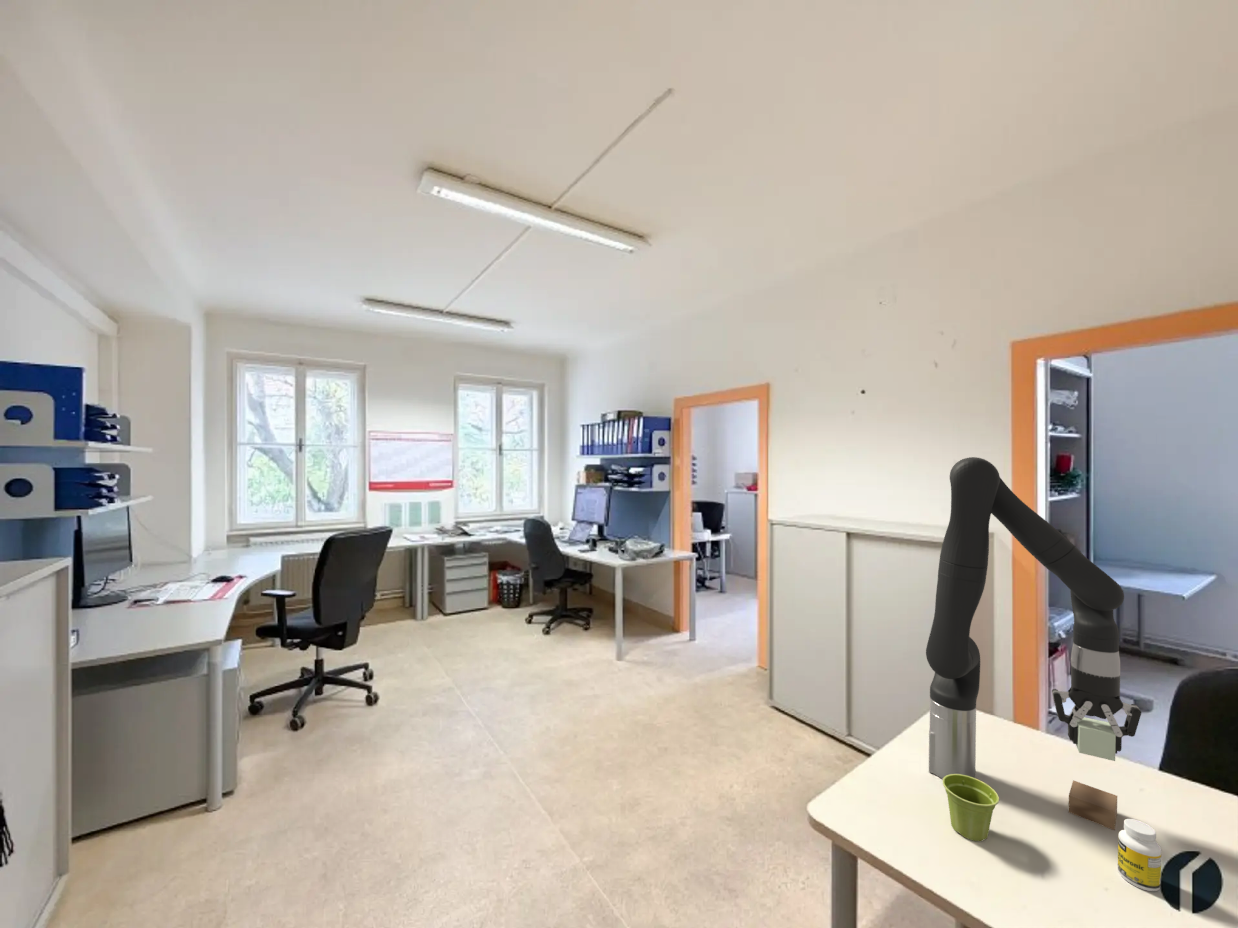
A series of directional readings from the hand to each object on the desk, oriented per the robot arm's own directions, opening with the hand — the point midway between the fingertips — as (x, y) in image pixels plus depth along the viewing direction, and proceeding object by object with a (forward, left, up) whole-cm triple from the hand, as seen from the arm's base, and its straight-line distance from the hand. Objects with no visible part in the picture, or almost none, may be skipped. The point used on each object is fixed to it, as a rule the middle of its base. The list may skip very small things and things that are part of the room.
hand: (1094, 746), depth 107 cm
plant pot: (-22, -20, -14) cm, 33 cm away
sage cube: (0, 0, -1) cm, 1 cm away
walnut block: (0, 0, -14) cm, 14 cm away
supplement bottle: (+3, -18, -14) cm, 23 cm away
